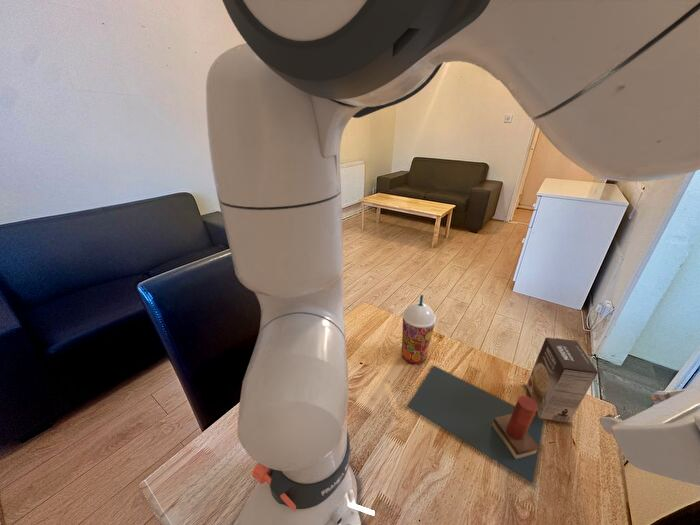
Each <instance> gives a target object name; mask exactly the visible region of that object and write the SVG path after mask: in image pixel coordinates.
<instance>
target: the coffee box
mask: <svg viewBox="0 0 700 525" xmlns="http://www.w3.org/2000/svg"><path fill="white" fill-rule="evenodd" d="M598 373H599V371H598V370H597V368H596V366H595V365H594V364H593V362H592V360H590V358H589V356H588V355H587V354H586V352H585V351H584V349H583V347H582V346H581V344H580V342H578V341H577V340H576V339H575V340H574V339H565V338H559V337H556V338H554V337H544V341H543V343H542V346H541V348H540V350H539V353H538V355H537V357H536V361H535V363H534V365H533V367H532V370H531V373H530V375H529V378H528V380H527V383H526V385H525V387H526V388H527V391H528V393H529V396H530V398H531V399H533V400H534V401H535V402H536V403H537V406H538V408H537V411H536V414H537V417H538V418H539V419H542V420H544V419H545V420H549V421H555V422H562V423H568V424H570V422H571V421H572V419H573V417H574V416H575V414H576V412H577V410H578V409H579V406H580V405H581V403H582V402H583V400H584V398H585V397H586V395H587V393H588V391H589V389H590V388H591V386H592V384H593V382H594V381H595V379H596V378H597V376H598Z"/></svg>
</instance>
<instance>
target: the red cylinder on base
mask: <svg viewBox="0 0 700 525" xmlns="http://www.w3.org/2000/svg"><path fill="white" fill-rule="evenodd" d="M514 406H515V408H514V410H513V413H512V414H510V415H506V416H501V417H497V418H494V421H493V423H492V426H493V427H494V429H495V430H496V432H497V433H498V435H499V436H500V438H501V439H502V440H503V442H504V443H505V445H506V446H507V448H508V449H509V451H510V452H511V454H512V455H513V456H514V458H515V459H518V458H522V457H526V456H530V455H534V454H536V452H537V449H538V447H539V448H540V445H539V446H538V445H537V444H536V443H535V441H534V440H533V439H532V438H531V436H530V435H529V434H528V432H527V430H528V428H529V426H530V424H531V422H532V419H533V417H534V416H535V415H536V414H537V408H538V406H537V403H536V402H535V401H534V400H533V399H531V396H530V397H529V396H527V395H520V396H519V397H518V399H517V401H516V403H515V405H514ZM538 450H539V449H538Z"/></svg>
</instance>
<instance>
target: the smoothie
mask: <svg viewBox="0 0 700 525" xmlns="http://www.w3.org/2000/svg"><path fill="white" fill-rule="evenodd" d="M423 300H424V294H421V295H420V297H419V301H417V302H412V303H411V304H409V305H408V306H407V307H406V308H405V309H404V310H403V312H402V331H401V332H402V334H401V336H402V337H401V353H402V355H403V358H404V359H405V360H406V361H408V362H409V363H411V364H420V363H422V362H423V361H424V360H425V359H426V358H427V356H428V352H429V349H430V344H431V340H432V337H433V333H434V328H435V325H436V321H437V317H436V314H435V312H434V310H433V309H432V307H430V306H429V305H428V304H427V303H424V302H423Z"/></svg>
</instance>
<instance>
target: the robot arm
mask: <svg viewBox="0 0 700 525" xmlns="http://www.w3.org/2000/svg"><path fill="white" fill-rule="evenodd" d="M221 1H222V3H223V5H224V7H225V10H226V13H227V15H228V16H229V18H230V20H231V22H232V24H233V25H234V27H235V28H236V30H237V32H238V33H239V34H240V37H242V39H243V40H244V43H240V44H237V45H235V46H233V47H231V48H229V49H227V50H226V51H224V52H223V53H221V54H219V55H218V56H217V57H216V59H215V60H214V61H213V62H212V64H211V65H210V67H209V69H208V72H207V75H206V80H205V103H206V104H205V108H206V109H205V110H206V126H207V138H208V147H209V156H210V162H211V169H212V175H213V181H214V186H215V191H216V196H217V200H218V204H219V208H220V213H221V218H222V222H223V225H224V226H223V227H224V230H225V234H226V240H227V245H228V247H229V252H230V255H231V260H232V264H233V270H234V273H235V274H234V275H235V276H236V278H237V280H238V281H239V282H240V283H241V284H242V285H243V286H244V288H246V289H248V290H250V291H251V292H253V293H254V294H255V297H256V299H257V301H258V303H259V306H260V323H259V331H258V335H257V337H256V342H255V345H254V348H253V350H252V354H251V357H250V360H249V363H248V365H247V368H246V371H245V374H244V376H243V380H242V383H241V384H242V385H241V390H240V396H239V397H240V398H239V406H238V415H237V416H238V417H237V428H236V430H237V432H236V433H237V438H238V442H239V444H240V446H241V447H242V448H243V450H244V451H245V452H246V453H247V455H249V456H250V457H251V458H252V459H253V460H254V461H255V462H257V464H256V465H255V467H254V468H253V470H252V472H251V475H252V477H253V478H254V479H256V480H257V481H258V482H257V483H256V485H255V487H254V488H253V490H252V492H251V493H250V495H249V497H248V498H247V500H246V502H245V504H244V506H243V507H242V508H241V510H240V511H239V512H240V513H239V515H238V516H237V517H236V519H235V521H234V523H232V525H362V521H361V517H360V513H359V512H362V513H365V514H368V515H371V516H373V517H375V510H372V509H370V508H367V507H364V506H361V505H359V504H358V503H357V500H358V486H357V480H356V476H355V473H354V471H353V468H352V467H351V465H350V464H351V463H350V462H351V453H352V449H351V441H350V440H351V439H350V435H349V434H350V433H349V431H348V409H349V394H350V390H349V388H350V387H349V386H350V385H349V372H348V371H349V370H348V369H349V368H348V352H347V339H346V338H347V334H346V333H347V332H346V317H345V316H346V314H345V290H344V289H345V284H344V283H345V282H344V280H345V279H344V278H345V276H344V275H345V274H344V273H345V272H344V267H345V266H344V264H345V262H344V234H343V207H342V206H343V205H342V182H341V180H342V179H341V145H342V138H343V134H344V131H345V129H346V127H347V125H348V123H349V122H350V120H351V119H352V118H354V119H359V118H362V117H365V116H367V115H370V114H373V113H375V112H377V111H381V110H383V109H386V108H389V107H391V106H395V105H397V104H400V103H403V102H404V101H406V100H409V99H410V98H412V97H414V96H415V95H417V94H418V93H419V92H420V91H422V90H423V89H424V88H425V87H427V85H429V83H430V82H431V81H432V80H433V79H434V77H436V75H437V73H438V72H439V71H440V69H441V67H442V66H443V64H444V63H451V62H454V63H455V62H462V63H468V64H471V65H474V66H476V67H478V68H480V69H482V70H484V71H485V72H487V73H488V74H489V75H490V76H492V77H493V78H494V79H495V80H497V81H499V82H500V83H501V84H502V85H503V86H504V87H505V88H506V89H507V91H508V92H509V93H510V95H511V97H513V99H514V100H515V101H516V102H517V104H518V106H520V108H521V109H522V110H523V112H524V113H525V114H526V115H527V116H528V117H529V118H530V120H531V122H533V124H534V125H535V126H536V127H537V128H538V129H539V130H540V132H541V133H542V134H543V136H544V137H545V138H546V139H547V140H548V141H549V142H550V143H551V145H553V146H554V148H555V149H556V150H557V151H558V152H559V153H561V154H562V155H563V156H564V157H565V158H567V160H569V161H570V162H572V163H573V164H575V165H576V166H577V167H579V168H580V169H582V170H583V171H585V172H586V173H588V174H589V175H592V176H593V177H595V178H597V179H601V180H607V181H614V182H628V183H629V182H632V183H633V182H634V183H635V182H636V183H637V182H649V181H651V182H652V181H658V180H660V181H661V180H665V179H670V178H675V177H679V176H683V175H686V174H690V173H693V172H696V171H699V170H700V0H221ZM649 398H650V400H652V402H653V405H652V406H649V407H648V408H646V409H644V410H642V411H640V412H638V413H636V414H633V415H632V416H630V417H628V418H626V419H624V420H623V418H622V417H621V415H620V414H610V413H609V414H606V415H604V416H602V417H600V418H599V422H600V424H601V426H602V428H603V430H604V431H605V432H606V433H607V434H609V435H612V436H613V438H614V440H615V443H616V445H617V447H618V448H619V450H620V451H621V453H622V456H623V457H624V458H625V459H626V461H628V463H629V464H630V465H631V466H633V467H634V468H637V469H640V470H641V471H645V472H648V473H650V474H654V475H658V476H662V477H665V478H667V479H672V480H675V481H679V482H683V483H686V484H691V485H696V486H700V382H699V383H698V384H695V385H693V386H691V387H686V388H679V389H674V390H657V391H654V392H653V393H651V394H650V395H649Z"/></svg>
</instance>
